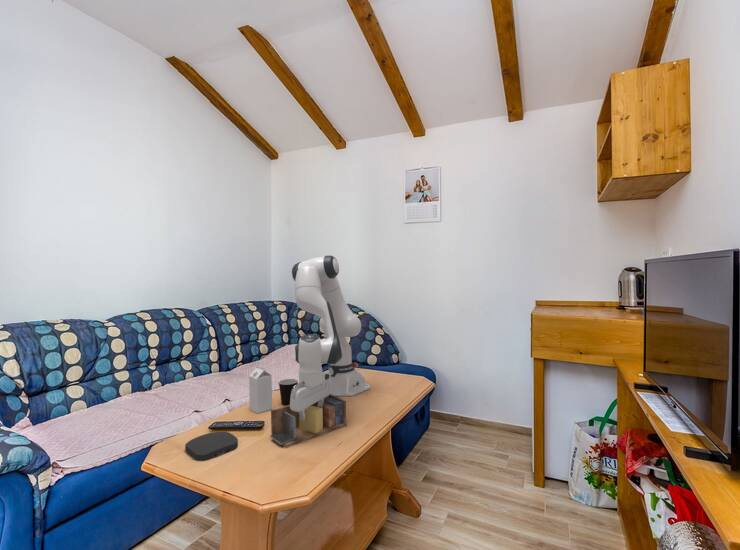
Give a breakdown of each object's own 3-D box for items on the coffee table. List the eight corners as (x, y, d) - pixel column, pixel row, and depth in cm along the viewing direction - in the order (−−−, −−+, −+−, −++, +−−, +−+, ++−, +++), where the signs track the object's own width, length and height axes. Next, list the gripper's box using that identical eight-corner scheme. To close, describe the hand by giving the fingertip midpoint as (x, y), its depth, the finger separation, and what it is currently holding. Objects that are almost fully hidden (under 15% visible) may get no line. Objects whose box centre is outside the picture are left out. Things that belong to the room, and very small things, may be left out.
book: (305, 425, 144) (305, 404, 144) (322, 429, 140) (322, 408, 140) (299, 429, 140) (298, 408, 140) (316, 433, 137) (316, 411, 136)
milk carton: (264, 405, 169) (263, 363, 168) (272, 409, 164) (271, 366, 163) (249, 409, 164) (248, 366, 164) (257, 413, 159) (256, 369, 158)
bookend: (284, 432, 138) (284, 410, 138) (295, 439, 132) (295, 417, 132) (270, 437, 134) (269, 415, 134) (280, 444, 128) (280, 421, 128)
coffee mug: (291, 407, 165) (291, 385, 165) (275, 405, 168) (274, 383, 168) (305, 398, 176) (304, 377, 176) (289, 397, 179) (289, 376, 179)
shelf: (330, 417, 153) (329, 393, 153) (346, 425, 145) (345, 400, 145) (271, 437, 136) (270, 410, 136) (286, 447, 128) (285, 418, 128)
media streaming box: (181, 449, 128) (181, 441, 128) (222, 435, 139) (222, 427, 139) (199, 464, 119) (199, 455, 118) (242, 447, 129) (241, 439, 129)
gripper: (299, 387, 129) (300, 427, 130) (333, 372, 147) (333, 407, 147) (285, 385, 132) (286, 423, 133) (320, 370, 150) (321, 404, 150)
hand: (311, 415), depth 140 cm, fingers open, 8 cm apart
